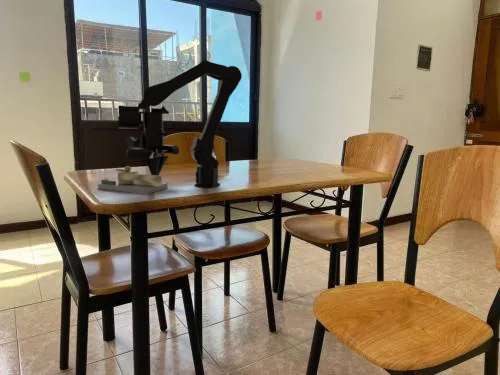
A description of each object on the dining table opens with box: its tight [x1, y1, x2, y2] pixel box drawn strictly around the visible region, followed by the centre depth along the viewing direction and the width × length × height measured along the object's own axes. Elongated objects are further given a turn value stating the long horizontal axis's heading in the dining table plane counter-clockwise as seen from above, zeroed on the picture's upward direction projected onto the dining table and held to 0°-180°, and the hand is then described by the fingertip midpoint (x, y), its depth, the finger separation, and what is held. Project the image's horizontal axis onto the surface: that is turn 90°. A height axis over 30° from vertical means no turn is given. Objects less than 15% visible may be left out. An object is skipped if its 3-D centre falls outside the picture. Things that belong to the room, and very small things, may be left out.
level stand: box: [97, 175, 169, 195], centre depth 119 cm, size 18×11×4 cm, turn 66°
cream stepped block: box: [115, 165, 163, 187], centre depth 116 cm, size 16×6×5 cm, turn 66°
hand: (155, 178), depth 120 cm, fingers closed
